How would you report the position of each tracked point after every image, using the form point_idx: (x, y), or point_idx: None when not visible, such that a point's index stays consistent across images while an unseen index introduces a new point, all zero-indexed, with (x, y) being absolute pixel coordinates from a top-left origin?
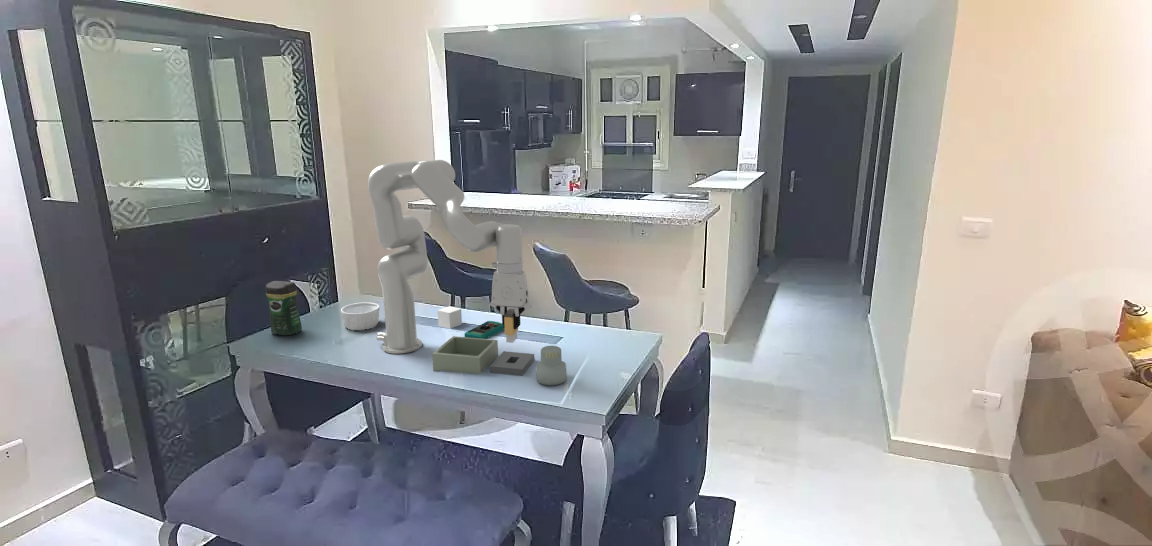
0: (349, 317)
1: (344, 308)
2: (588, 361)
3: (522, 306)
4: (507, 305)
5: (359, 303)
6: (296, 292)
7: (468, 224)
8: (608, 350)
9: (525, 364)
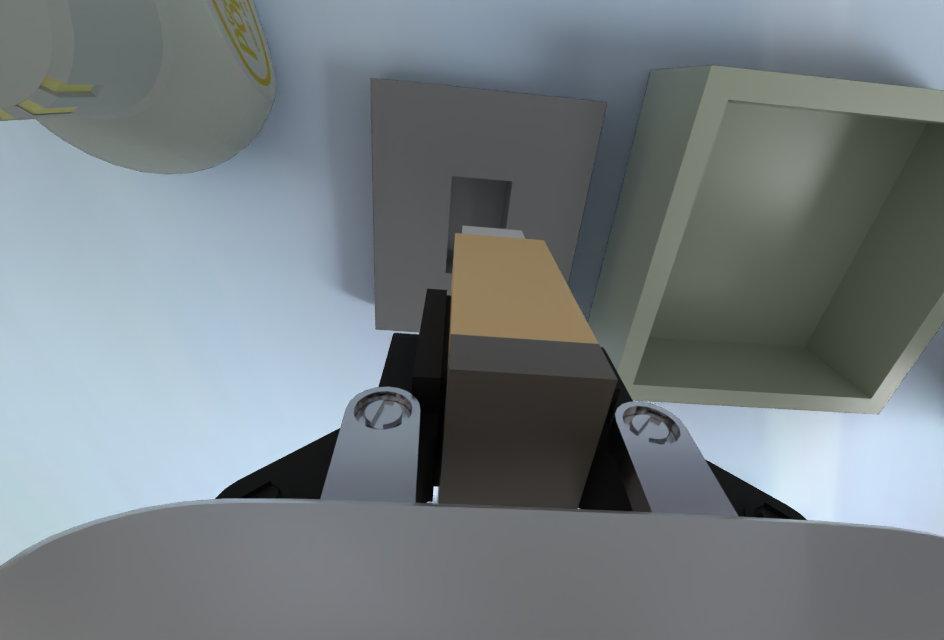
0: None
1: None
2: (116, 344)
3: (78, 527)
4: (588, 529)
5: None
6: None
7: None
8: (96, 461)
9: (375, 166)
